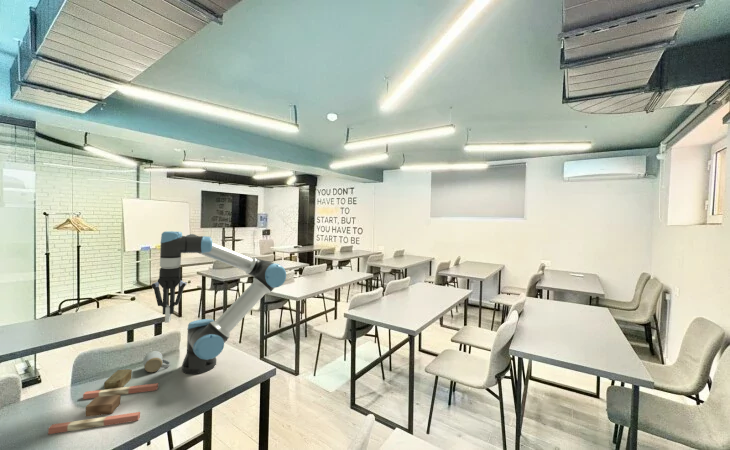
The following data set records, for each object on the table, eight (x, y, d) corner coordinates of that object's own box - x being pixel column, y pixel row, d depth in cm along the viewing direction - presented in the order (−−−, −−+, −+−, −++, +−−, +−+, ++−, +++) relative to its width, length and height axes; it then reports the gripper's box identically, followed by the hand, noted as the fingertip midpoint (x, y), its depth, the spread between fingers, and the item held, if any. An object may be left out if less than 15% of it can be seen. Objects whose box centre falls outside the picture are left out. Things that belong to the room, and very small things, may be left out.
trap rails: (158, 387, 126) (158, 383, 126) (137, 420, 106) (138, 415, 106) (85, 396, 118) (86, 391, 118) (48, 434, 97) (48, 428, 97)
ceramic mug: (143, 375, 135) (144, 358, 136) (142, 368, 142) (144, 352, 142) (170, 369, 142) (171, 353, 142) (168, 362, 148) (169, 347, 149)
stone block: (102, 394, 120) (102, 382, 120) (117, 379, 131) (117, 368, 131) (119, 392, 122) (119, 380, 122) (132, 378, 133) (132, 367, 133)
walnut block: (120, 404, 114) (120, 394, 114) (111, 414, 109) (111, 403, 109) (95, 407, 112) (96, 396, 112) (85, 417, 106) (85, 406, 106)
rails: (130, 391, 123) (130, 386, 123) (103, 425, 102) (103, 420, 102) (101, 394, 120) (101, 389, 120) (67, 431, 99) (67, 425, 99)
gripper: (189, 265, 131) (187, 317, 131) (155, 265, 127) (153, 319, 127) (185, 268, 124) (182, 323, 124) (149, 268, 120) (146, 325, 120)
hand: (167, 321), depth 125 cm, fingers closed
